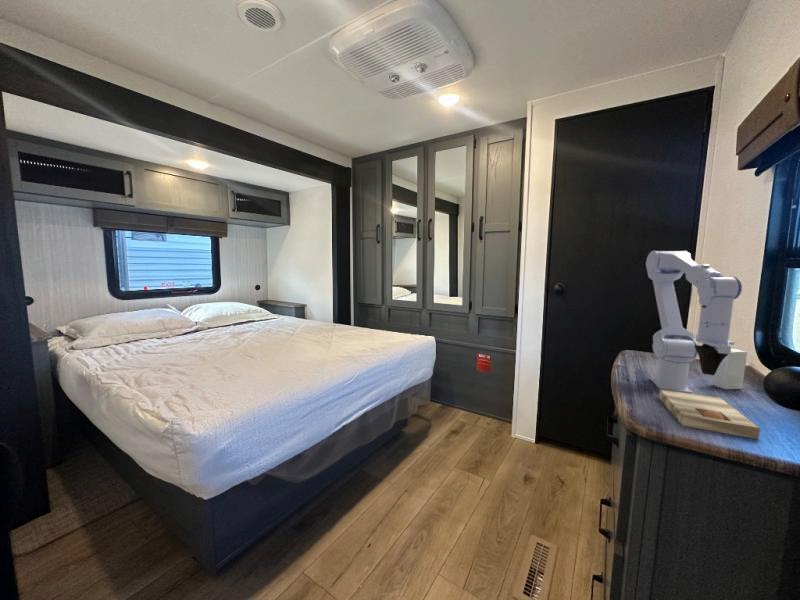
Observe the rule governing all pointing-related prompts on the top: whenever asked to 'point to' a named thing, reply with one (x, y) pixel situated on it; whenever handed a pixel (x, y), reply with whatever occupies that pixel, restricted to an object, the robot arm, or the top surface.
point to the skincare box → (731, 370)
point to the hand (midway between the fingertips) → (708, 373)
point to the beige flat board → (694, 406)
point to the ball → (713, 414)
